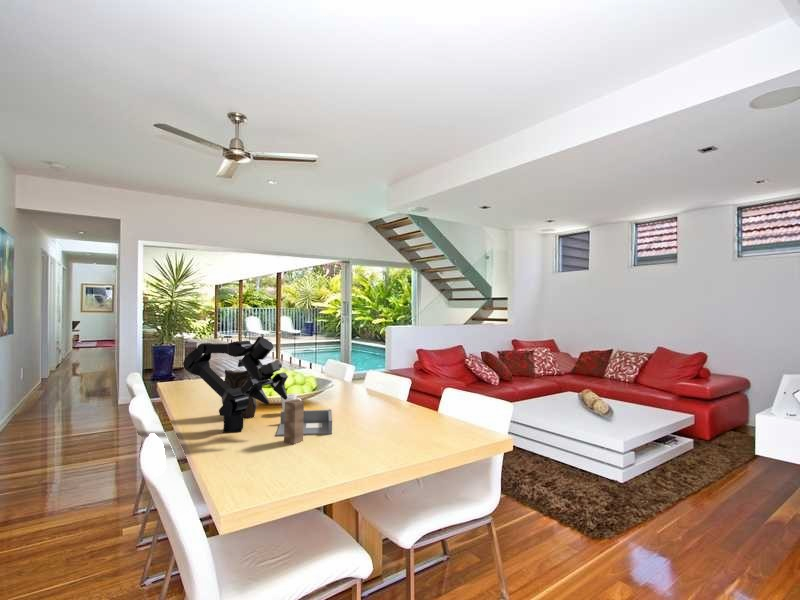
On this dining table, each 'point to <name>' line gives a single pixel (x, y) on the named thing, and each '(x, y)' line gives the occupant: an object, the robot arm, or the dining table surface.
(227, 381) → the owl
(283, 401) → the cup
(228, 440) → the dining table surface
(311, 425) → the tray
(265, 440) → the dining table surface
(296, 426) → the walnut column
